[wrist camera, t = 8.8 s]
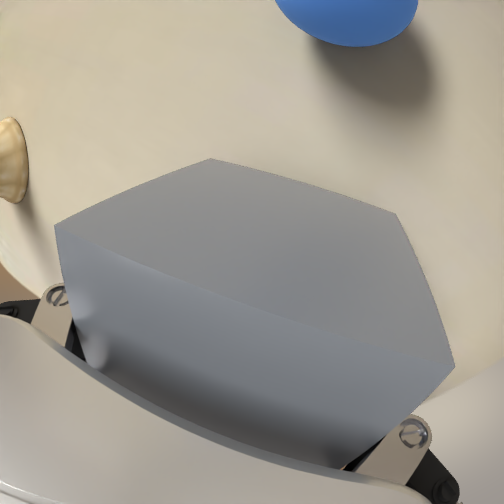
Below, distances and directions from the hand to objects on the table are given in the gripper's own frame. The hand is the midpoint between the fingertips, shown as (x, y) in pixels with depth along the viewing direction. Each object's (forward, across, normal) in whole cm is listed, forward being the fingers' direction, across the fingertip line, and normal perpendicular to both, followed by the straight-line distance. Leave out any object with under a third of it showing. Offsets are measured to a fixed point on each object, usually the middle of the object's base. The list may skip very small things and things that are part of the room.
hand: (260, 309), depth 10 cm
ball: (+1, 0, -12) cm, 12 cm away
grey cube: (+3, 0, 0) cm, 3 cm away
